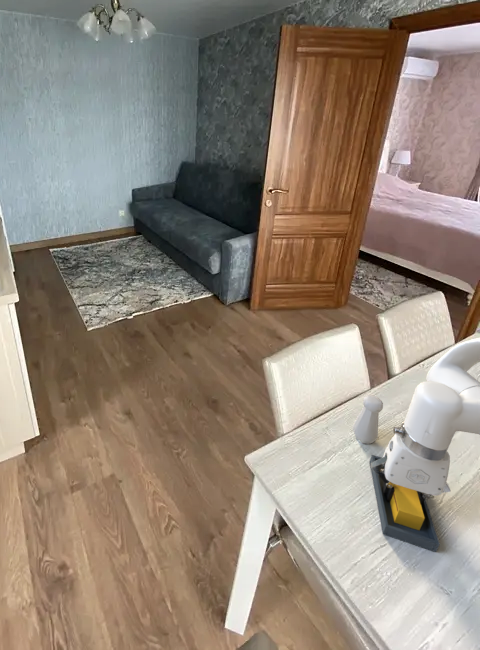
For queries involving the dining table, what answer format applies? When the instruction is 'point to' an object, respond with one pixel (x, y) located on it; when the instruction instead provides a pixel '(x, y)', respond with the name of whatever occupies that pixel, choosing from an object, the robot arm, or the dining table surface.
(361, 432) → the salt shaker
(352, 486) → the dining table surface
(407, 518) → the block
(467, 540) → the dining table surface
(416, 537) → the tray
